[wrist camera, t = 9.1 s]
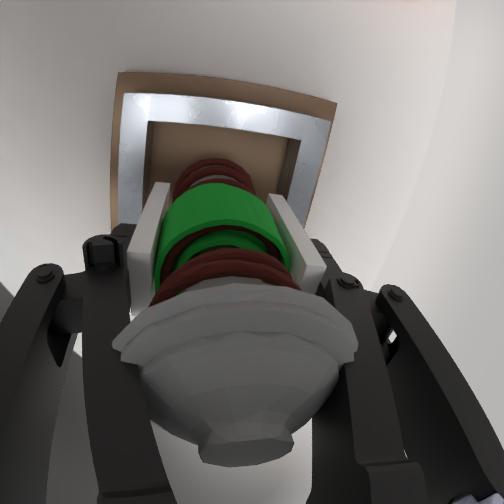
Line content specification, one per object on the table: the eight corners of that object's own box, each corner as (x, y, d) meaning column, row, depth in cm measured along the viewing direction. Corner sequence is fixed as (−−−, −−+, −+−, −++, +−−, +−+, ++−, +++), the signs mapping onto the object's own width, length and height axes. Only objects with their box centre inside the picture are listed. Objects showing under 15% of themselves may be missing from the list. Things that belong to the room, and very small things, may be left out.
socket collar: (134, 91, 15) (124, 92, 13) (316, 116, 17) (331, 121, 15) (128, 253, 21) (121, 273, 18) (278, 264, 23) (286, 284, 21)
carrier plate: (124, 73, 15) (118, 72, 14) (328, 101, 18) (337, 103, 17) (118, 255, 22) (113, 265, 21) (285, 267, 25) (289, 278, 24)
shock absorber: (207, 254, 20) (230, 490, 8) (140, 189, 17) (50, 438, 4) (284, 198, 19) (410, 419, 6) (221, 119, 15) (306, 306, 3)
